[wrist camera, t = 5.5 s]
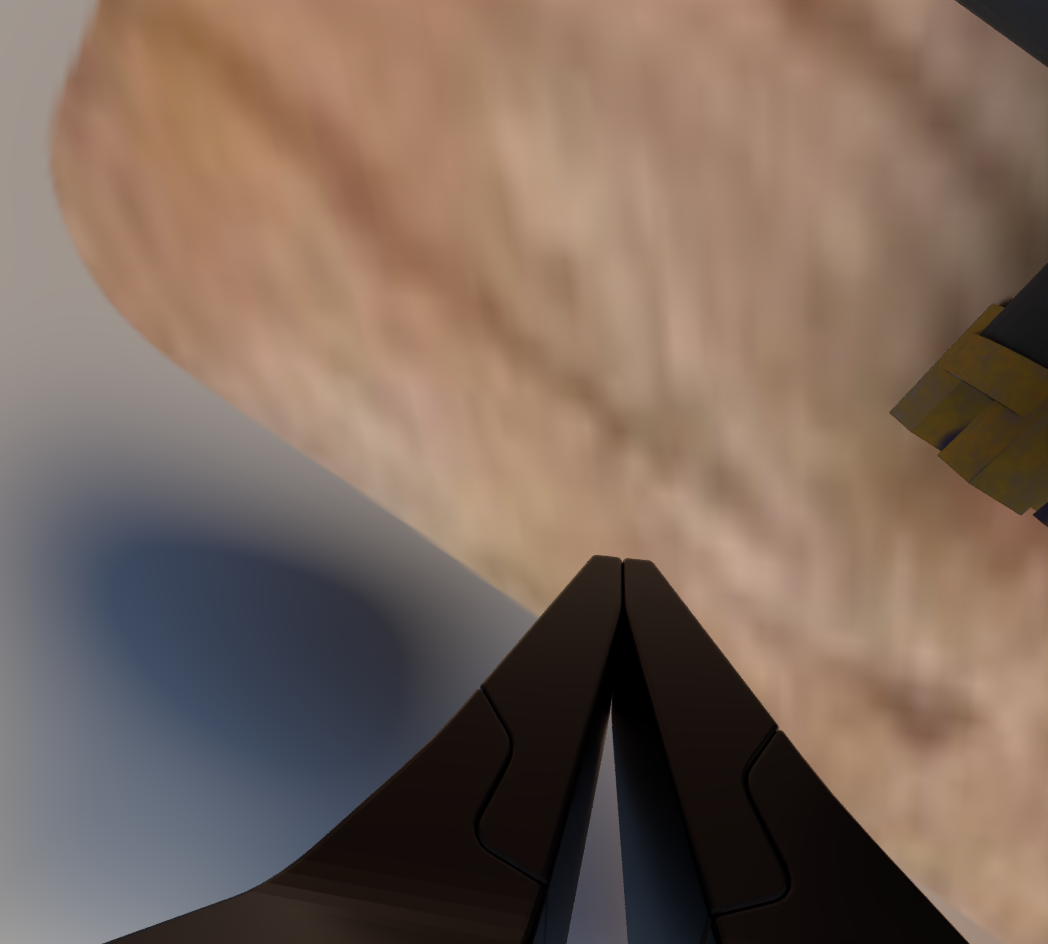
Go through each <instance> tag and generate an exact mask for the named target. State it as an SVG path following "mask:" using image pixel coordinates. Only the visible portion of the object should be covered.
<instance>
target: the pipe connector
mask: <svg viewBox="0 0 1048 944" xmlns="http://www.w3.org/2000/svg"><path fill="white" fill-rule="evenodd" d="M955 1H957V2H958V3H960V4H961V5H962V6H964V7H965V8H967V9H968V10H969V11H971V12H972V13H973V14H975V15H976V16H978V17H979V18H980V19H982V20H983V21H985V22H986V23H987V24H989V25H990V26H991V27H993V28H994V29H996V30H997V31H998V32H1000V33H1001V34H1002V35H1004V36H1005V37H1007V38H1008V39H1009V40H1011V41H1012V42H1014V43H1015V44H1016V45H1018V46H1019V47H1020V48H1022V49H1023V50H1025V51H1026V52H1027V53H1029V54H1030V55H1032V56H1033V57H1034V58H1036V59H1037V60H1038V61H1040V62H1041V63H1043V64H1044V65H1045V66H1047V67H1048V0H955ZM889 413H890V414H891V415H892V416H894V417H895V418H896V419H897V420H898V421H899V422H900V423H901V424H903V425H904V426H905V427H906V428H907V429H908V430H909V431H910V432H912V433H913V434H915V435H917V436H918V437H920V438H921V439H923V440H925V441H926V442H928V443H929V444H931V445H932V446H934V447H936V448H937V449H939V450H940V451H941V452H940V453H939V454H938V456H939V457H940V458H941V459H942V460H943V461H944V462H946V463H947V464H948V465H949V466H950V467H951V468H952V469H953V470H955V471H956V472H957V473H958V474H959V475H960V476H961V477H962V478H964V479H965V480H966V481H967V482H968V483H970V484H971V485H973V486H974V487H976V488H978V489H979V490H981V491H982V492H984V493H986V494H987V495H989V496H990V497H992V498H994V499H995V500H997V501H998V502H1000V503H1002V504H1003V505H1005V506H1006V507H1008V508H1010V509H1011V510H1013V511H1014V512H1016V513H1018V514H1019V515H1022V514H1023V513H1025V512H1026V511H1027V510H1028V509H1029V508H1030V507H1031V508H1033V509H1035V510H1036V512H1035V513H1034V514H1033V516H1035V517H1036V518H1037V519H1038V520H1039V521H1041V522H1042V523H1043V524H1044V525H1046V526H1047V527H1048V263H1047V264H1046V265H1045V266H1044V267H1043V268H1042V269H1041V271H1040V272H1039V273H1038V274H1037V275H1036V276H1035V277H1034V278H1033V279H1032V280H1031V281H1030V282H1029V283H1028V284H1027V285H1026V286H1025V287H1024V288H1023V289H1022V290H1021V291H1020V292H1019V293H1018V294H1017V295H1016V297H1015V298H1014V299H1013V300H1012V301H1011V302H1010V303H1009V304H1008V305H1007V306H1006V307H1005V308H1004V307H1002V306H999V305H996V304H992V305H991V306H990V307H989V308H988V309H987V310H986V311H985V312H984V313H983V314H982V315H981V316H980V317H979V318H978V319H977V321H976V322H975V323H974V324H973V325H972V326H971V327H970V328H969V329H968V330H967V331H966V332H965V333H964V334H963V335H962V336H961V337H960V338H959V340H958V341H957V342H956V343H955V344H954V345H953V346H952V347H951V348H950V349H949V350H948V351H947V352H946V353H945V354H944V355H943V356H942V357H941V359H940V360H939V361H938V362H937V363H936V364H935V365H934V366H933V367H932V368H931V369H930V370H929V371H928V372H927V373H926V374H925V375H924V376H923V378H922V379H921V380H920V381H919V382H918V383H917V384H916V385H915V386H914V387H913V388H912V389H911V390H910V391H909V392H908V393H907V394H906V395H905V397H904V398H903V399H902V400H901V401H900V402H899V403H898V404H897V405H896V406H895V407H894V408H893V409H892V410H891V411H890V412H889Z"/></svg>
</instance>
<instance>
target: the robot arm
mask: <svg viewBox="0 0 1048 944" xmlns="http://www.w3.org/2000/svg"><path fill="white" fill-rule="evenodd" d="M611 700H612V708H611ZM610 708H611V715H612V733H613V734H612V735H613V749H614V763H615V776H616V790H617V803H618V816H619V817H618V818H619V831H620V845H621V859H622V872H623V886H624V899H625V913H626V925H627V941H628V944H969V943H968V941H967V940H966V939H965V938H964V937H963V936H962V935H961V934H960V933H959V932H958V931H957V930H956V928H955V927H954V926H953V925H952V924H951V923H950V922H949V921H948V920H947V919H946V918H945V917H944V916H943V915H942V914H941V912H940V911H939V910H938V909H937V908H936V907H935V906H934V905H933V904H932V903H931V902H930V900H929V899H928V898H927V897H926V896H925V895H924V894H923V893H922V892H921V891H920V890H919V889H918V888H917V887H916V886H915V884H914V883H913V882H912V881H911V880H910V879H909V878H908V877H907V876H906V875H905V873H904V872H903V871H902V870H901V869H900V868H899V867H898V866H897V865H896V864H895V863H894V862H893V860H892V859H891V858H890V857H889V856H888V855H887V854H886V853H885V852H884V851H883V850H882V849H881V848H880V846H879V845H878V844H877V843H876V842H875V841H874V840H873V839H872V838H871V837H870V835H869V834H868V833H867V832H866V831H865V830H864V829H863V828H862V826H861V825H860V824H859V823H858V822H857V821H856V820H855V819H854V817H853V816H852V815H851V814H850V813H849V812H848V811H847V810H846V808H845V807H844V806H843V805H842V804H841V803H840V802H839V801H838V799H837V798H836V797H835V796H834V795H833V794H832V793H831V791H830V790H829V789H828V788H827V786H826V785H825V784H824V783H823V781H822V780H821V779H820V778H819V776H818V775H817V774H816V773H815V772H814V770H813V769H812V768H811V767H810V765H809V764H808V763H807V762H806V760H805V759H804V758H803V757H802V755H801V754H800V753H799V752H798V750H797V749H796V748H795V746H794V745H793V744H792V742H791V741H790V740H789V739H788V737H787V736H786V735H785V733H784V732H783V731H781V730H779V727H778V725H777V723H776V722H775V721H774V719H773V718H772V717H771V716H770V714H769V713H768V712H767V710H766V709H765V708H764V706H763V705H762V704H761V702H760V701H759V700H758V699H757V697H756V696H755V695H754V693H753V692H752V691H751V689H750V688H749V687H748V686H747V684H746V683H745V682H744V680H743V679H742V678H741V676H740V675H739V674H738V672H737V671H736V670H735V669H734V667H733V666H732V665H731V663H730V662H729V661H728V659H727V658H726V657H725V656H724V654H723V653H722V652H721V650H720V649H719V648H718V646H717V645H716V644H715V643H714V641H713V640H712V639H711V637H710V636H709V635H708V633H707V632H706V631H705V629H704V628H703V627H702V626H701V624H700V623H699V622H698V620H697V619H696V618H695V616H694V615H693V614H692V613H691V611H690V610H689V609H688V607H687V606H686V605H685V603H684V602H683V601H682V600H681V598H680V597H679V596H678V594H677V593H676V592H675V590H674V589H673V588H672V586H671V585H670V584H669V583H668V581H667V580H666V579H665V577H664V576H663V575H662V573H661V572H660V571H659V570H658V568H657V567H656V566H655V564H654V563H653V562H651V561H649V560H640V559H630V558H626V559H624V560H623V562H622V561H621V559H620V558H618V557H611V556H601V555H594V556H593V557H591V559H590V560H589V561H588V562H587V563H586V564H585V565H584V567H583V568H582V569H581V570H580V571H579V572H578V574H577V575H576V576H575V577H574V578H573V579H572V580H571V582H570V583H569V584H568V585H567V586H566V587H565V589H564V590H563V591H562V592H561V593H560V594H559V595H558V597H557V598H556V599H555V600H554V601H553V602H552V604H551V605H550V606H549V607H548V608H547V609H546V610H545V612H544V613H543V614H542V615H541V616H540V617H539V619H538V620H537V621H536V622H535V623H534V624H533V625H532V627H531V628H530V629H529V630H528V632H527V633H526V634H525V635H524V636H523V637H522V638H521V639H520V640H519V642H518V643H517V644H516V645H515V647H513V649H512V650H511V651H510V652H509V653H508V654H507V655H506V657H505V658H504V659H503V660H502V661H501V662H500V664H499V665H498V666H497V667H496V668H495V669H494V670H493V672H492V673H491V674H490V675H489V676H488V677H487V679H486V680H485V681H484V682H483V683H482V684H481V686H480V689H477V690H476V691H475V692H474V693H473V695H472V696H471V697H470V698H469V699H468V700H467V701H466V702H465V704H464V705H463V706H462V707H461V708H460V709H459V710H458V712H457V713H456V714H455V715H454V716H453V717H452V718H451V719H450V720H449V721H448V722H447V723H446V725H444V727H443V728H442V729H441V730H440V731H439V732H438V733H437V734H436V735H435V736H434V737H433V738H432V739H431V740H430V741H429V742H428V743H427V744H426V745H425V746H424V747H423V748H422V749H420V750H419V751H418V752H417V753H416V754H415V755H414V756H413V757H412V758H411V759H410V760H409V761H408V762H407V763H406V764H404V765H403V766H402V767H401V768H400V769H399V770H398V771H397V772H396V773H395V774H393V775H392V776H391V777H390V778H389V779H388V780H387V781H386V782H385V783H383V784H382V785H381V786H380V787H379V788H378V789H377V790H376V791H375V792H373V793H372V794H371V795H370V796H369V797H368V798H367V799H366V800H364V801H363V802H362V803H361V804H360V805H359V806H358V807H357V808H355V809H354V810H353V811H352V812H351V813H350V814H349V815H348V816H347V817H345V818H344V819H343V820H342V821H341V822H340V823H339V824H338V825H336V826H335V827H334V828H333V829H332V830H331V831H330V832H329V833H327V834H326V835H325V836H324V837H323V838H322V839H321V840H320V841H319V842H317V843H316V844H315V845H314V846H313V847H312V848H311V849H309V850H308V851H307V852H306V853H305V854H303V855H302V856H301V857H300V858H299V859H297V860H296V861H295V862H293V863H292V864H291V865H289V866H288V867H286V868H285V869H284V870H282V871H281V872H279V873H278V874H276V875H274V876H273V877H271V878H270V879H268V880H267V881H265V882H263V883H262V884H260V885H258V886H256V887H254V888H252V889H250V890H248V891H246V892H244V893H241V894H239V895H236V896H234V897H231V898H228V899H225V900H223V901H220V902H217V903H214V904H211V905H209V906H206V907H203V908H200V909H197V910H195V911H192V912H189V913H186V914H184V915H181V916H178V917H175V918H172V919H170V920H167V921H164V922H161V923H159V924H156V925H153V926H150V927H147V928H145V929H142V930H139V931H136V932H133V933H131V934H128V935H125V936H123V937H120V938H117V939H114V940H111V941H108V942H106V943H103V944H567V939H568V934H569V929H570V923H571V918H572V913H573V908H574V902H575V897H576V892H577V887H578V881H579V876H580V871H581V866H582V860H583V855H584V850H585V844H586V839H587V834H588V828H589V823H590V818H591V813H592V808H593V802H594V797H595V792H596V786H597V781H598V776H599V771H600V765H601V760H602V755H603V750H604V744H605V739H606V734H607V728H608V722H609V715H610Z"/></svg>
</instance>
